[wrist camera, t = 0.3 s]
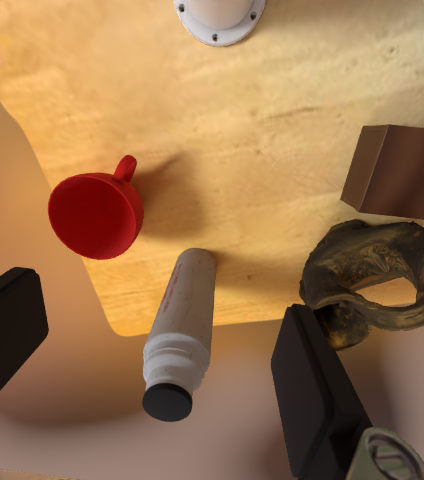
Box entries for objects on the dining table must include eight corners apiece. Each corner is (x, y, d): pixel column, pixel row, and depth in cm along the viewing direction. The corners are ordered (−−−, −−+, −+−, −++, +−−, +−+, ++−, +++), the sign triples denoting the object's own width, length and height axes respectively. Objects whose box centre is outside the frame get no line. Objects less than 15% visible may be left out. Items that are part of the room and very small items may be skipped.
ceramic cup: (179, 175, 43) (166, 187, 34) (134, 248, 49) (113, 274, 40) (111, 128, 41) (78, 127, 32) (72, 211, 47) (34, 230, 38)
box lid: (355, 210, 37) (358, 212, 37) (385, 124, 33) (388, 124, 32) (444, 220, 37) (449, 222, 37) (486, 135, 33) (492, 135, 32)
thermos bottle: (168, 267, 51) (109, 408, 25) (192, 240, 48) (154, 366, 22) (199, 289, 52) (174, 443, 27) (224, 264, 50) (223, 407, 24)
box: (340, 199, 44) (359, 211, 37) (362, 125, 39) (388, 125, 33) (413, 207, 44) (444, 220, 37) (444, 134, 39) (486, 135, 33)
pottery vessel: (290, 295, 52) (324, 384, 34) (267, 253, 48) (291, 327, 30) (419, 241, 46) (547, 313, 28) (404, 188, 42) (538, 233, 24)
